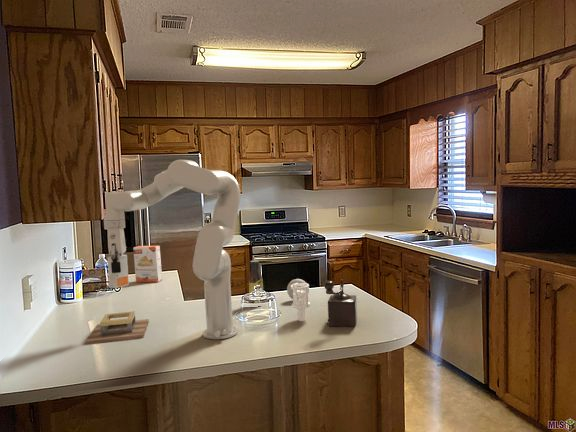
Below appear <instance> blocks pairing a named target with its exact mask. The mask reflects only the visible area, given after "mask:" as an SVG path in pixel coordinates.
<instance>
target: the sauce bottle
mask: <svg viewBox="0 0 576 432" xmlns="http://www.w3.org/2000/svg"><path fill="white" fill-rule="evenodd" d="M249 264H250V273H249V275H248V289H249V291H248V292H249V293H251V292H252V291H253V290H254V286H256V285H260V286H261V288H262V290H263V291H264V279H263V276H262V275H263V274H261V271H260V260H255V259H254V260H250V261H249ZM249 293H248V294H249Z"/></svg>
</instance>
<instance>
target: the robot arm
mask: <svg viewBox="0 0 576 432" xmlns="http://www.w3.org/2000/svg"><path fill="white" fill-rule="evenodd" d="M182 189H188V190H191V191H194V192H197V193H199V194H202V195H207V196H213V195H217V199H216V201H215V203H214V207H213V213H212V217H211V221H210V222H208V223H206V224H204V225H203V226H202V227H201V229H200V230H199V231H198V234H197V238H196V242H195V243H196V244H195V247H194V248H195V249H194V254H193V258H192V271H193V273H194V275H195V276H196V277H197V278H198V279H200V280H201V281H204V283H203V289H204V306H205V320H206V329H205V330H204V331H203V332H202V337H204V338H206V340H207V339H208V340H223V339H224V340H225V339H229V338H232V337H234V336H235V335H237V334H238V328H237V327H235V326H234V321H233V320H234V319H233V306H232V304H233V303H232V291H231V289H232V288H231V270H232V269H231V268H232V260H231V258H230V257H231V256H230V255H229V253H228V252H227V251H226V250H225V249H223V248H224V247H225V246H227V245H229V244H230V243H232V241H233V238H234V232H235V227H236V223H237V218H238V212H239V208H240V207H239V206H240V202H241V188H240V184H239V183H238V181H237V179H236V178H235V177H234V176H233V175H232V174H230V173H229V172H227V171H225V170H222V169H221V170H220V169H207V168H204V167H200V166H199V164H198V163H197V162H195V161H194V160H190V159H176V160H174V161H172V162H171V163H170V164H169V165H168V167H167V169H165V170H163V171H162V172H160V173H158V174H156V175H155V176H154V180H153V182H152V183H151V184H148V185H146V186H144V187H142V188H140V189H138V190H137V189H136V190H126V191H125V190H124V191H110V192H108V191H107V192H105V193H106V217H105V218H104V217H103V228H104V230H107V233H106V234H107V248H108V254H109V255H110V256H111V269H112V273H120V272H121V265H120V262H119V254H121V255H124V253H126V252H127V247H126V246H127V245H126V238H125V237H126V236H125V231H124V230H125V228H126V217H125V212H134V211H139V210H144V209H146V208H148V207H150V206H151V207H152V206H153V205H155V204H157V203H159V202H161V201H162V200H164V199H165V198H166V197H168V196H170V195H172V194H174V193H176V192H178V191H180V190H182Z"/></svg>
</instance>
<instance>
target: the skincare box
mask: <svg viewBox="0 0 576 432" xmlns="http://www.w3.org/2000/svg"><path fill="white" fill-rule="evenodd" d="M119 262H120V265H121V272H120V273H112V269H111V255H110V256H107V269H108V271H107V272H108V285H109V287H108V288H111V289H119V288H122V287H126V286H130V285H129V265H128V254H123V255H121V254H119Z"/></svg>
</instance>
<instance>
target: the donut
mask: <svg viewBox="0 0 576 432" xmlns="http://www.w3.org/2000/svg"><path fill="white" fill-rule="evenodd" d="M295 283H306V284H308V283H307V281H305V280H303V279H300V278H296V279H292V280H291V281H290V282H289V283H288V284H287V287H286V292H287V295H288V297H290V299H291V300H293V290H292V289H291V285H293V284H295ZM298 287H305V286H298ZM304 291H305V290H304ZM309 291H310V287H309V288H308V294H309Z"/></svg>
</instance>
